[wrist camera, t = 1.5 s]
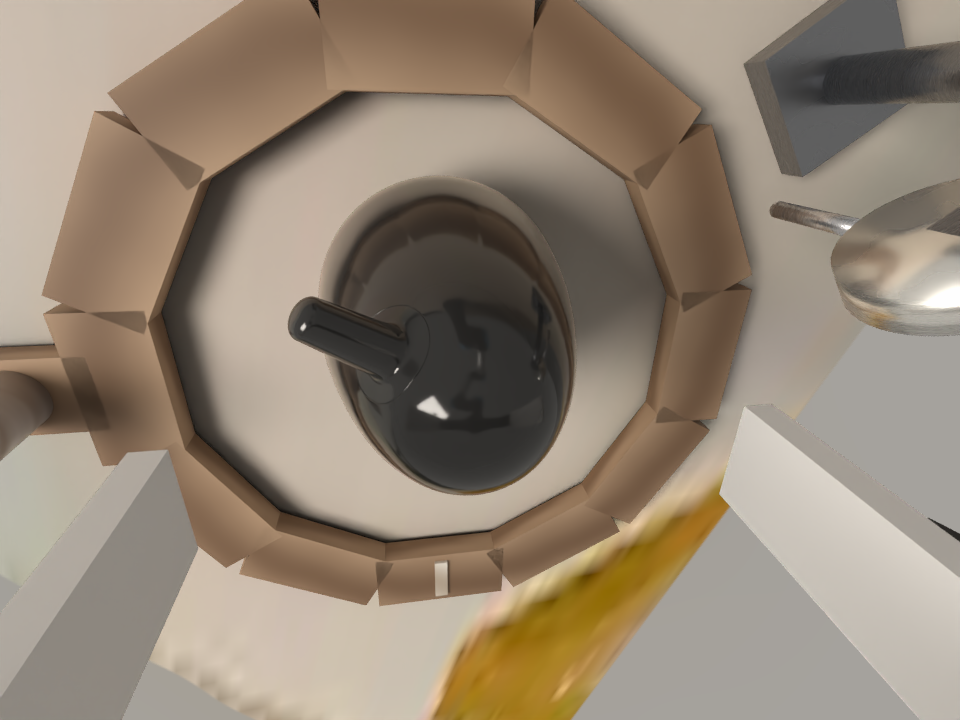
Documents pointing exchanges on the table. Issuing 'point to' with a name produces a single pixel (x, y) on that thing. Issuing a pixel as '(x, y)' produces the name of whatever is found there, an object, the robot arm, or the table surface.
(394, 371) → the pump dispenser
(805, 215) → the dial indicator stand
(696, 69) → the table surface
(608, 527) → the turntable ring
